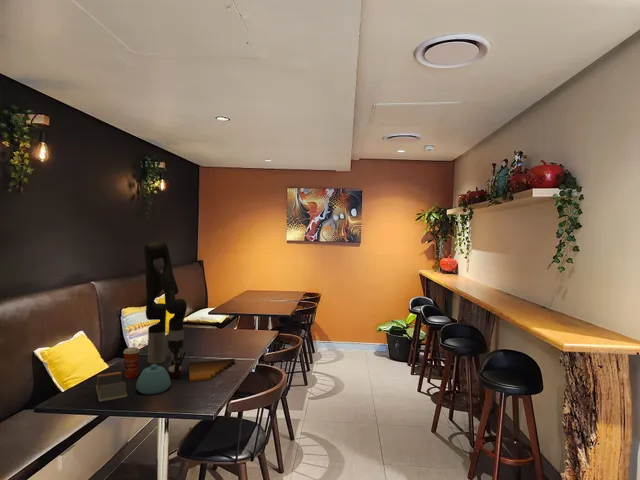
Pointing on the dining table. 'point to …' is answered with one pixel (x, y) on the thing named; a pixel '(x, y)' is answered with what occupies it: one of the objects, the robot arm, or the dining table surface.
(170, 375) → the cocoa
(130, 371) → the paper cup
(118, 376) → the sliding jaw
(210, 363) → the pan flute
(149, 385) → the teal dome lid
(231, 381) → the dining table surface
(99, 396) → the beige napkin holder
